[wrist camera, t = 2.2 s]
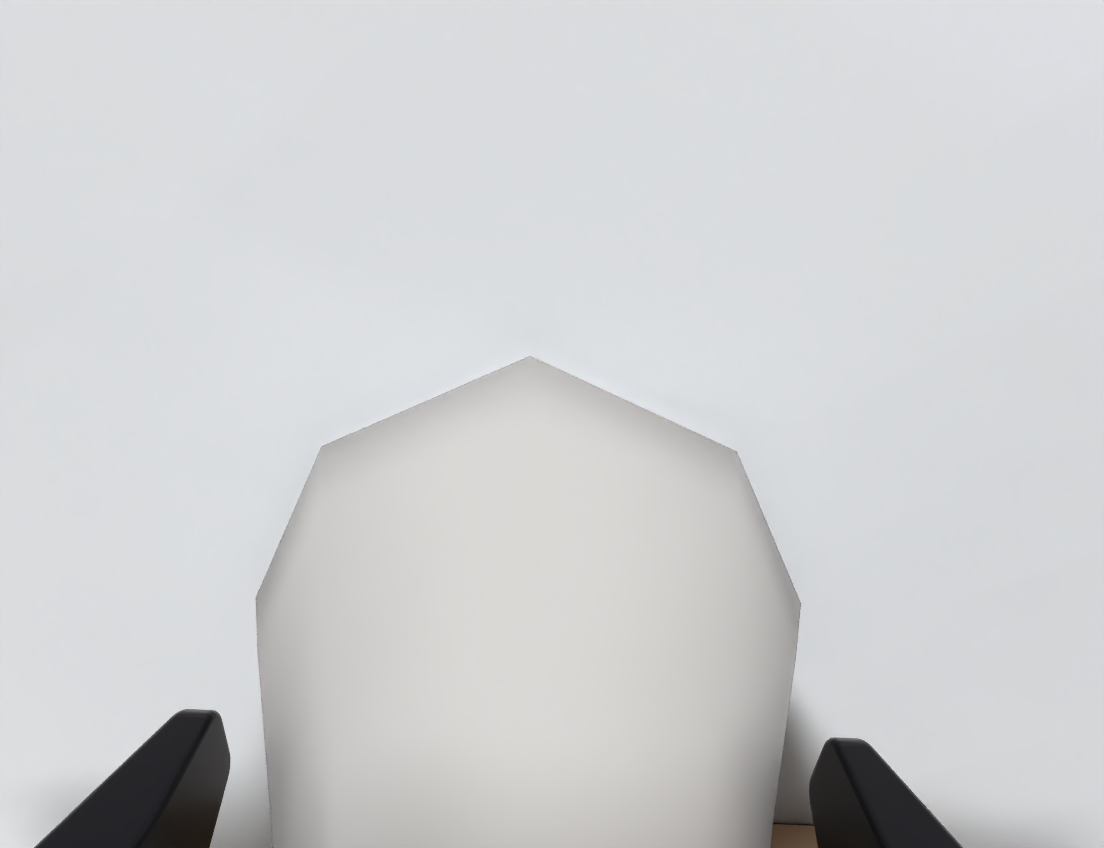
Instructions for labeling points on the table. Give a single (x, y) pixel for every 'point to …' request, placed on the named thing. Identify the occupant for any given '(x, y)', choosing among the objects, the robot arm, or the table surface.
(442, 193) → the table surface
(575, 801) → the flask
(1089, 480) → the table surface
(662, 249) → the table surface
